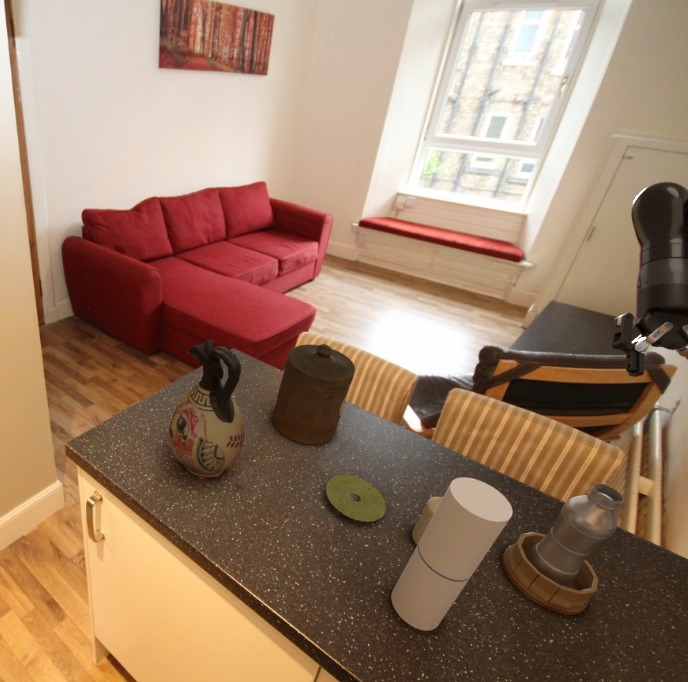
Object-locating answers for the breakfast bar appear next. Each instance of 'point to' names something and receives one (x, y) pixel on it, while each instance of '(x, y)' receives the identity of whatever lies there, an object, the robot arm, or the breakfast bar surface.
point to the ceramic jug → (209, 416)
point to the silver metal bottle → (576, 533)
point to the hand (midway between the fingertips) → (667, 381)
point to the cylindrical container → (450, 551)
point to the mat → (355, 498)
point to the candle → (425, 518)
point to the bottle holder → (547, 579)
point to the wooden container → (312, 393)
